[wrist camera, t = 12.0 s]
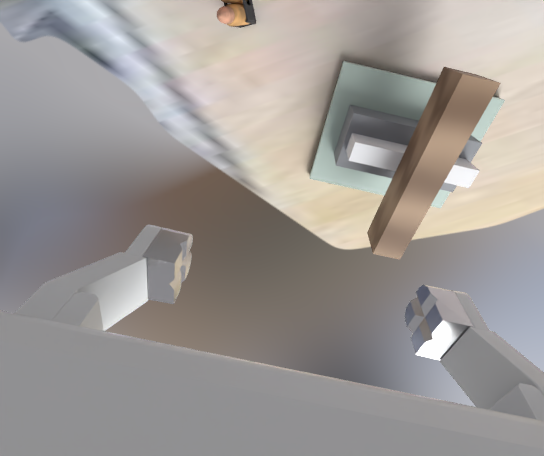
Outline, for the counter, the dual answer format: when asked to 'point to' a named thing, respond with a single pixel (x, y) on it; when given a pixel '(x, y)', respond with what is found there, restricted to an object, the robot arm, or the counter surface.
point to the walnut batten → (429, 158)
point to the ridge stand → (383, 131)
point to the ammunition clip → (237, 13)
